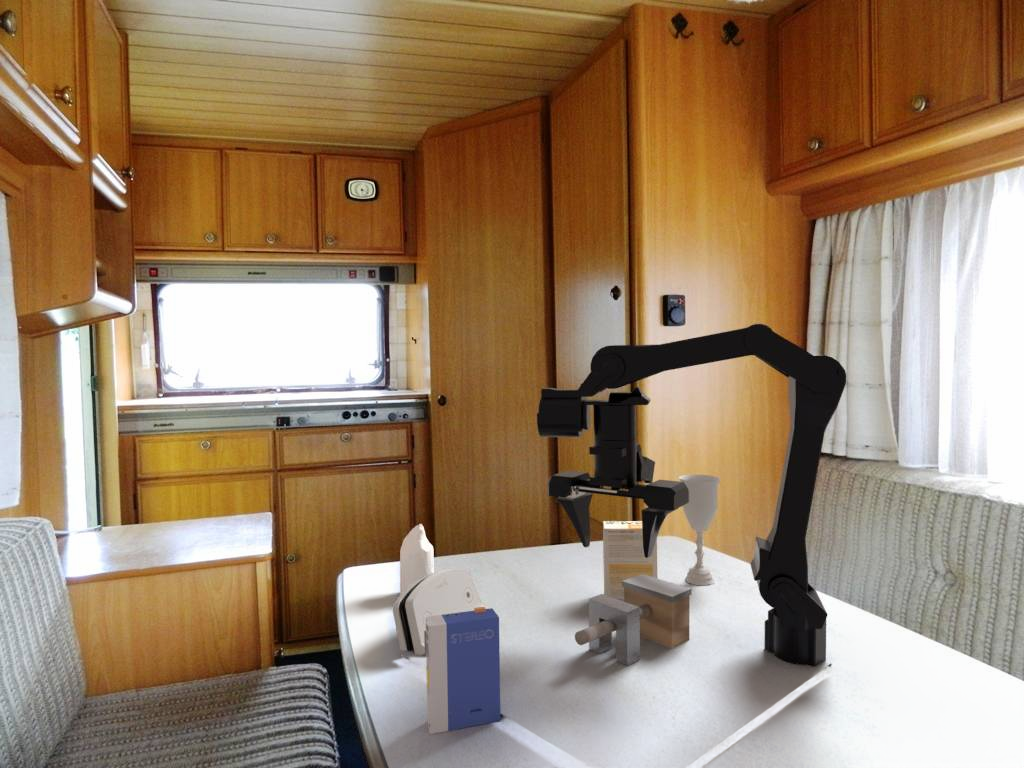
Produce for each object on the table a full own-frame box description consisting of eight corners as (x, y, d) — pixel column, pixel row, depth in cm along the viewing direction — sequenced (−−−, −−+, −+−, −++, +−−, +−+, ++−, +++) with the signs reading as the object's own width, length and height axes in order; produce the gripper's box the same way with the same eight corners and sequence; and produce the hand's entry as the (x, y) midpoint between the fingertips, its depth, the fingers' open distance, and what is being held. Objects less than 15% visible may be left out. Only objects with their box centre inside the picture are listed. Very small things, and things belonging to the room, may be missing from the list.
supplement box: (654, 600, 110) (654, 520, 109) (658, 612, 105) (657, 528, 104) (603, 599, 110) (602, 519, 110) (604, 610, 106) (603, 527, 105)
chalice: (670, 577, 121) (670, 476, 120) (700, 571, 124) (701, 473, 123) (698, 590, 114) (698, 483, 113) (729, 583, 117) (729, 480, 116)
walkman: (493, 708, 77) (492, 604, 76) (500, 721, 74) (499, 613, 74) (424, 721, 75) (422, 613, 74) (429, 734, 72) (427, 623, 71)
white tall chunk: (391, 524, 113) (418, 518, 117) (393, 595, 113) (419, 586, 117) (414, 530, 109) (441, 523, 113) (415, 604, 109) (442, 595, 113)
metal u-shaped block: (639, 659, 87) (639, 607, 86) (627, 665, 85) (627, 612, 85) (601, 643, 91) (601, 594, 91) (589, 649, 90) (588, 598, 89)
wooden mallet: (641, 628, 99) (641, 573, 98) (691, 646, 92) (691, 588, 92) (555, 666, 87) (555, 605, 87) (605, 690, 81) (605, 624, 80)
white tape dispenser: (432, 665, 88) (409, 589, 89) (404, 670, 90) (382, 596, 91) (495, 619, 103) (474, 555, 104) (469, 624, 105) (450, 561, 106)
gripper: (703, 435, 93) (703, 547, 94) (583, 428, 104) (585, 529, 105) (671, 445, 84) (672, 569, 85) (544, 436, 95) (546, 547, 96)
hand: (616, 551), depth 93 cm, fingers open, 9 cm apart
